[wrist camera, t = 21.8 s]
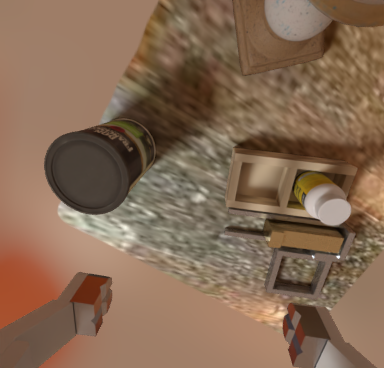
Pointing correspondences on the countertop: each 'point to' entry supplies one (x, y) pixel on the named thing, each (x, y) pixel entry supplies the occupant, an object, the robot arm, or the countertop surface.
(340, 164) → the box
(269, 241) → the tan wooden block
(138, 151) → the coffee can
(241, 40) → the candle holder
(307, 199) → the supplement bottle
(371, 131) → the countertop surface
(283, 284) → the socket block
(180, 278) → the countertop surface
